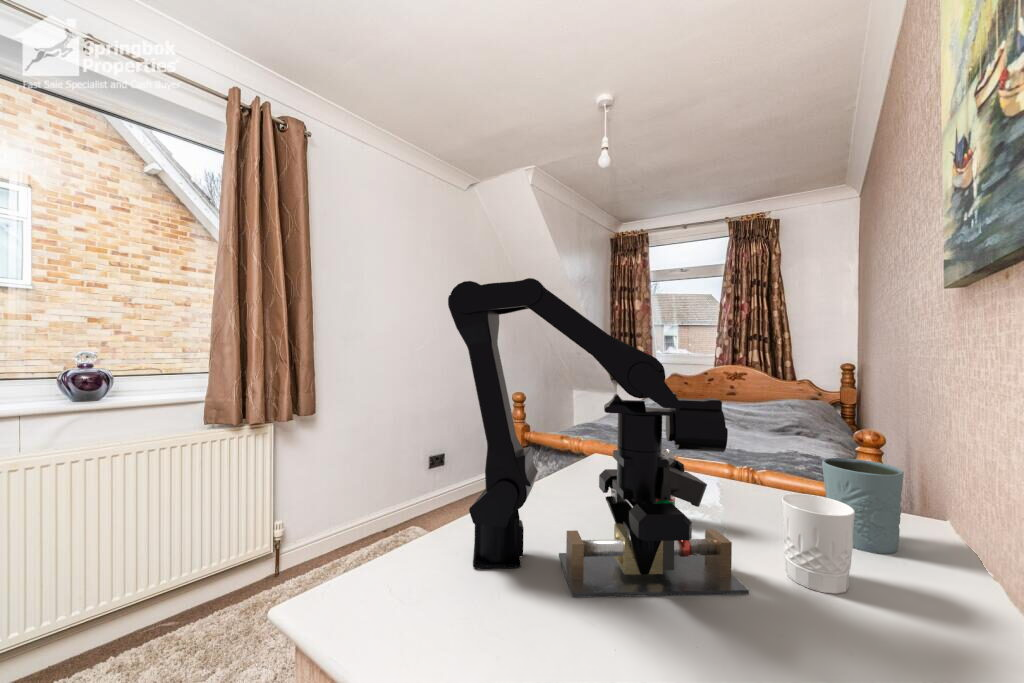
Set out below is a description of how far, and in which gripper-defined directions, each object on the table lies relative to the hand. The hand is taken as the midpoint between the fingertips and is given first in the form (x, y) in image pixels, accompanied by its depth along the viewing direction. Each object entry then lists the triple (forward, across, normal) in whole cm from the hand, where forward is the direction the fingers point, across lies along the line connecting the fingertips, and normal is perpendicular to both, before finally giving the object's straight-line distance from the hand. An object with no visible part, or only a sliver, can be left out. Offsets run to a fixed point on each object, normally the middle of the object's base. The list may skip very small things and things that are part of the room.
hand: (637, 563), depth 58 cm
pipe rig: (+1, 0, -1) cm, 2 cm away
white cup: (+2, -2, -23) cm, 23 cm away
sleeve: (0, 0, 0) cm, 0 cm away
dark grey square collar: (0, 0, -3) cm, 3 cm away
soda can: (+2, +18, -10) cm, 21 cm away
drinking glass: (+2, +9, -39) cm, 40 cm away
